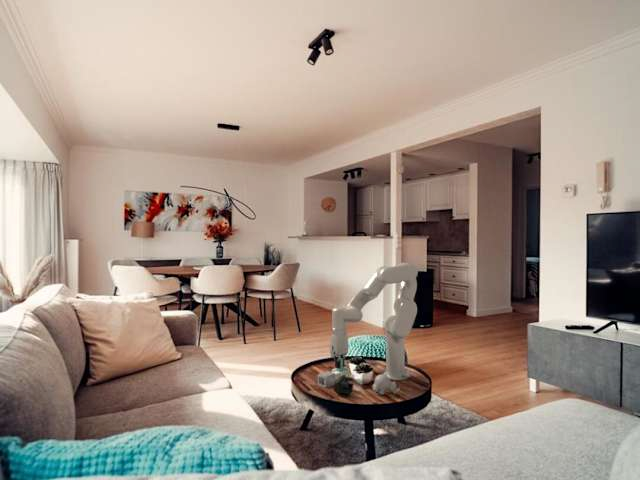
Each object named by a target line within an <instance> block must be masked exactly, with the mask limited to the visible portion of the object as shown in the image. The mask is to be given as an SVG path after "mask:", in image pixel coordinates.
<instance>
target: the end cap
mask: <svg viewBox="0 0 640 480" xmlns="http://www.w3.org/2000/svg"><path fill="white" fill-rule="evenodd" d="M351 382H354V377H345V375H342V376H341V377H340V378H339V379H338V380H335V384H333V385H332V386H333V389H332V390H333V391H334V393H335V394H336V395H338V396H339V397H343V398H344V397H345V398H349V397H350V396H351V394H352V392H353V391H354V383H351Z"/></svg>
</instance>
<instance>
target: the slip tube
mask: <svg viewBox="0 0 640 480" xmlns="http://www.w3.org/2000/svg"><path fill="white" fill-rule="evenodd" d="M339 361H340V365H341V368H340V369H338V368H336V371H335V372H332V371H331V372H332V373H335V381H337V379H339V378H340V372H342V371H343V358H340V360H339Z"/></svg>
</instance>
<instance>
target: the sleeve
mask: <svg viewBox="0 0 640 480" xmlns="http://www.w3.org/2000/svg"><path fill="white" fill-rule="evenodd" d="M335 383H336V380H335V373H332V371H329V370H326V371H324V372H321V373H318V374H317V386H320V387H323V388H324V389H325V388H328V387H331V386H334V384H335Z"/></svg>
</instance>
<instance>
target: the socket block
mask: <svg viewBox="0 0 640 480" xmlns="http://www.w3.org/2000/svg"><path fill="white" fill-rule="evenodd" d="M350 370H351V369H350V367H348V366H345V365H344V367H343V371H342V372H340V377H341V376H342V375H345V377H350V376H351V371H350ZM335 371H336V368H335V367H334V368H333V369H331V372H335ZM337 380H338V379H337ZM337 380H336V381H337Z"/></svg>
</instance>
